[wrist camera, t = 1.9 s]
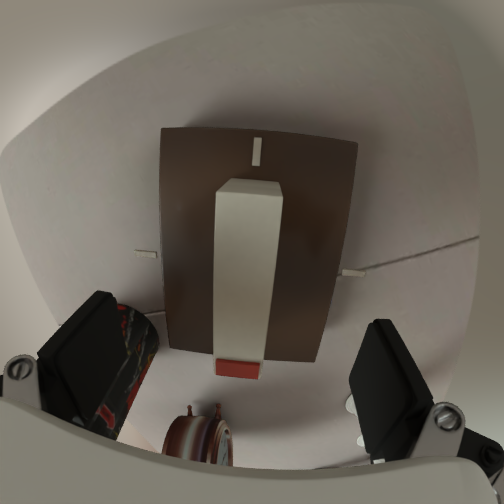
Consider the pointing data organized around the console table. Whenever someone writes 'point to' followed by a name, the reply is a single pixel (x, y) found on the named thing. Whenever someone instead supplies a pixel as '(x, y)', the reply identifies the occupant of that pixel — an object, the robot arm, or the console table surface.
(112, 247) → the console table surface
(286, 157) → the panel
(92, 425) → the deodorant
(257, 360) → the dial
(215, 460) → the alarm clock
